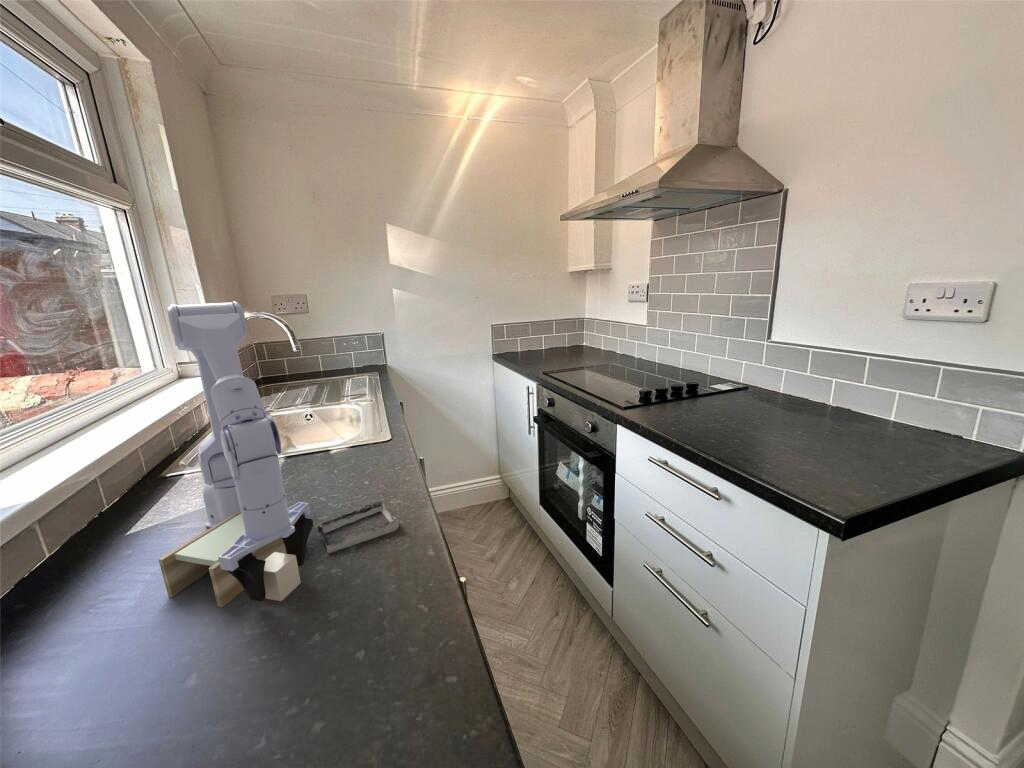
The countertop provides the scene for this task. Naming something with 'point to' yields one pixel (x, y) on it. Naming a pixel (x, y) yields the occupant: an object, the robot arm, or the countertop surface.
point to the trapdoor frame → (209, 569)
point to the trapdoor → (213, 543)
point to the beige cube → (280, 575)
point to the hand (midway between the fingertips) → (278, 580)
